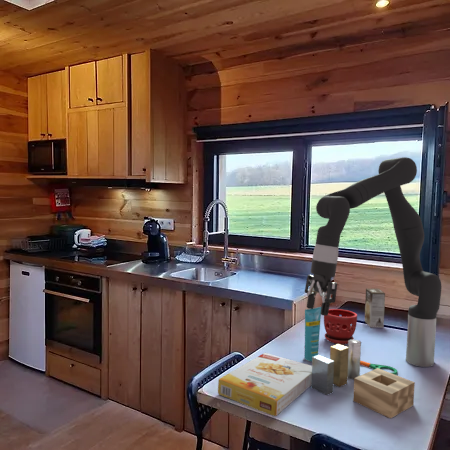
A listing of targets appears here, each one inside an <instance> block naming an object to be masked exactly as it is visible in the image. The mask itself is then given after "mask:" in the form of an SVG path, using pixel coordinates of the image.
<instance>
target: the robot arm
mask: <svg viewBox="0 0 450 450" xmlns="http://www.w3.org/2000/svg"><path fill="white" fill-rule="evenodd" d="M377 171H378V174H376V175H372V176H369V177H367V178H363V179H361V180H359V181H356V182H354V183H352V184H350V185H349V186H347V187H345V188H344V189H343V188H342V189H341V190H338V191H334V192H330V193H329V194H326V195H323V196H322V197H320V199H319V200H318V201H317V203H316V205H315V206H316V207H315V209H316V213H317V215H318V216H320V217H321V218H323V219H327V220H328V221H327V223H326V225H322V226H320V227H318V229H317V232H316V239H315V246H314V249H313V254H312V260H311V266H310V273H311V274H307V275H306V276H307V277H306V282H305V287H304V293H305V294H306V295H307V302H306V309H313V308H315V303H316V302H315V301H316V296H317V294H318V293H319V296H320V297H321V300H322V303H321V306H320V307H321V316H324V315H325V316H327V315H328V312H329V309H330V306H331V304H332V303H335V302H336V298H337V288H338V283H337V282H335V281H334V282H332V278H335V277H336V271H337V265H338V258H339V246H340V240H341V234H342V232H343V231H344V228H345V227H346V223H347V221H348V219H349V216H350V213H351V210H352V209H355V208H358V207H360V206H361V205H363V204H365V203H367V202H369V201H370V200H372V199H373V198H375V197H377V196H379V195H381V194H384V196H385V198H386V201H387V202H386V203H387V204H388V209H389V214H390V216H391V220H392V225H393V230H394V234H395V238H396V241H397V245H398V250H399V255H400V259H401V265H402V274H403V282H404V286H405V289H406V290H407V292H408V293H410V294H411V295H413V296H416V297H418V299H417V303H416V304H412V305H409V307H408V312H407V332H406V351H405V361H406V362H407V363H408V364H411V365H413V366H415V367H421V368H428V367H433V366H434V362H435V351H436V332H437V331H436V329H437V314H438V312H439V309H440V303H441V297H442V280H441V278H440V277H439V276H438V275H436V274H434V273H431V272H428V271H424V269H423V267H422V263H421V260H420V259H421V257H420V255H421V251H422V247H423V245H424V241H425V230H424V225H423V222H422V218H421V217H420V214H419V213H418V212H417V210H416V209H415V208H414V207H413V206H412V205H411V203H410V202H409V201H408V200H407V198H406V196H405V195H404V193H403V190H402V186H404V185H407V184H410V183H412V182H413V181H414V180H415V178H416V176H417V172H418V169H417V164H416V161H414V160H413V159H412V158H409V157H406V156H402V157H396V158H387V159H384V160H382V161H381V162H380V164H379V165H378V170H377ZM331 296H332V297H331Z"/></svg>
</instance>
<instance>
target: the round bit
mask: <svg viewBox="0 0 450 450" xmlns="http://www.w3.org/2000/svg"><path fill="white" fill-rule="evenodd" d="M361 346H362V342H361V340H358V339H354V340H349V341H348V344H347V347H348V348H349V351H348V377H347V379H348V378H349V379H350V380H354V378H356V377H358V376H360V375H361V373H360V372H361V365H360V360H361V352H362V347H361Z"/></svg>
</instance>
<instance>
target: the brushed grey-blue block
mask: <svg viewBox="0 0 450 450" xmlns="http://www.w3.org/2000/svg"><path fill="white" fill-rule="evenodd" d="M311 366H312V384H311V386H310V387H311V389H312V390H314V391H317V392H319V393H322V394H323V395H325V396H328V394H329V395H330V393H331V394H333V393H334V385H333V378H334V361H333V360H330V358H327V357H325V356H323V355H320V354H318V355H317V356H314V357H312V361H311ZM332 392H333V393H332Z"/></svg>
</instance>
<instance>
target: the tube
mask: <svg viewBox="0 0 450 450" xmlns="http://www.w3.org/2000/svg"><path fill="white" fill-rule="evenodd" d="M321 307H322V306H317V307H314V308H313V309H308V308H305V310H304V360H305V361H307V362H312V357H314V356H317V355H319V349H320V348H319V347H320V331H321V319H322V317H321V316H322V315H321Z"/></svg>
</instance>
